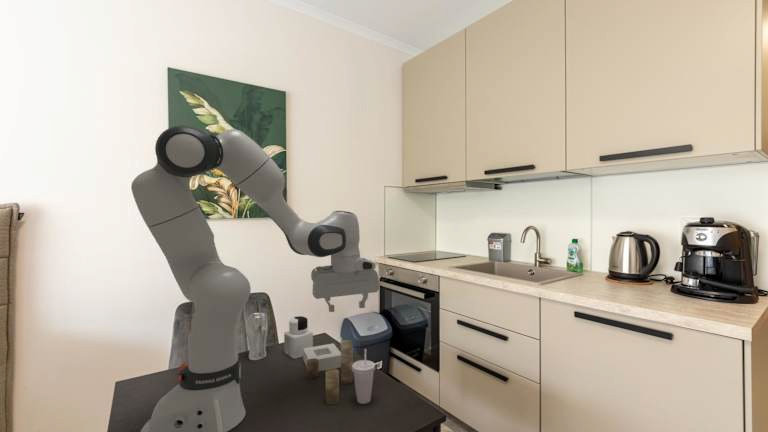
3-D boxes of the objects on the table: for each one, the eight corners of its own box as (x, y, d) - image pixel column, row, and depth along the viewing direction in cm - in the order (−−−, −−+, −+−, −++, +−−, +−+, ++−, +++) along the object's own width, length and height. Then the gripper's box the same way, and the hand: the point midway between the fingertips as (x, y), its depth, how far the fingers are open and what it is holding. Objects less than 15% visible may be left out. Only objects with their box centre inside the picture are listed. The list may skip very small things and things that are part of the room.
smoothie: (372, 407, 88) (371, 354, 88) (349, 405, 89) (348, 353, 89) (377, 394, 94) (377, 345, 94) (355, 392, 95) (355, 343, 95)
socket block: (309, 373, 107) (309, 361, 107) (303, 359, 117) (303, 348, 117) (342, 366, 112) (342, 354, 112) (333, 354, 122) (333, 343, 122)
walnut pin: (308, 380, 103) (308, 364, 103) (305, 375, 106) (305, 359, 106) (319, 378, 104) (319, 362, 104) (317, 373, 107) (317, 357, 107)
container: (302, 347, 128) (302, 313, 128) (313, 353, 123) (313, 318, 123) (284, 353, 123) (283, 317, 123) (294, 359, 117) (293, 322, 117)
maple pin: (343, 384, 100) (342, 344, 100) (339, 379, 103) (339, 340, 103) (354, 382, 101) (354, 342, 101) (350, 377, 105) (350, 338, 105)
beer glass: (255, 362, 115) (254, 319, 115) (243, 358, 119) (242, 316, 119) (271, 355, 121) (271, 314, 121) (259, 351, 125) (259, 311, 125)
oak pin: (327, 406, 89) (327, 376, 89) (324, 399, 92) (324, 370, 92) (340, 403, 90) (340, 373, 90) (337, 396, 94) (336, 368, 94)
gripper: (312, 268, 95) (313, 317, 95) (380, 263, 102) (381, 308, 102) (309, 265, 101) (311, 310, 101) (374, 260, 108) (375, 302, 108)
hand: (347, 309), depth 102 cm, fingers open, 8 cm apart
